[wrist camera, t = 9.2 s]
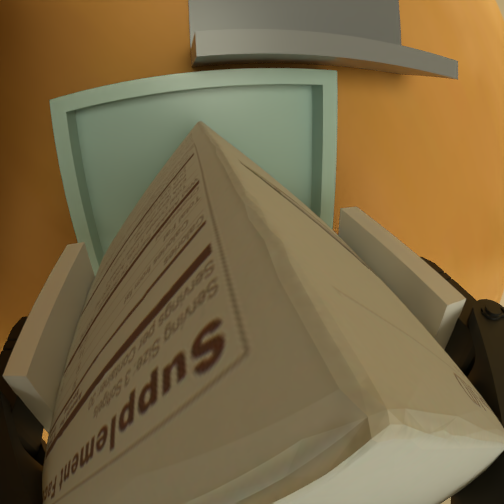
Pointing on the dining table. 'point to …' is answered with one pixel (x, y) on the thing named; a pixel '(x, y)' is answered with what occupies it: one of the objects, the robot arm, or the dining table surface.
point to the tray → (179, 126)
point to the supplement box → (253, 361)
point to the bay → (308, 35)
